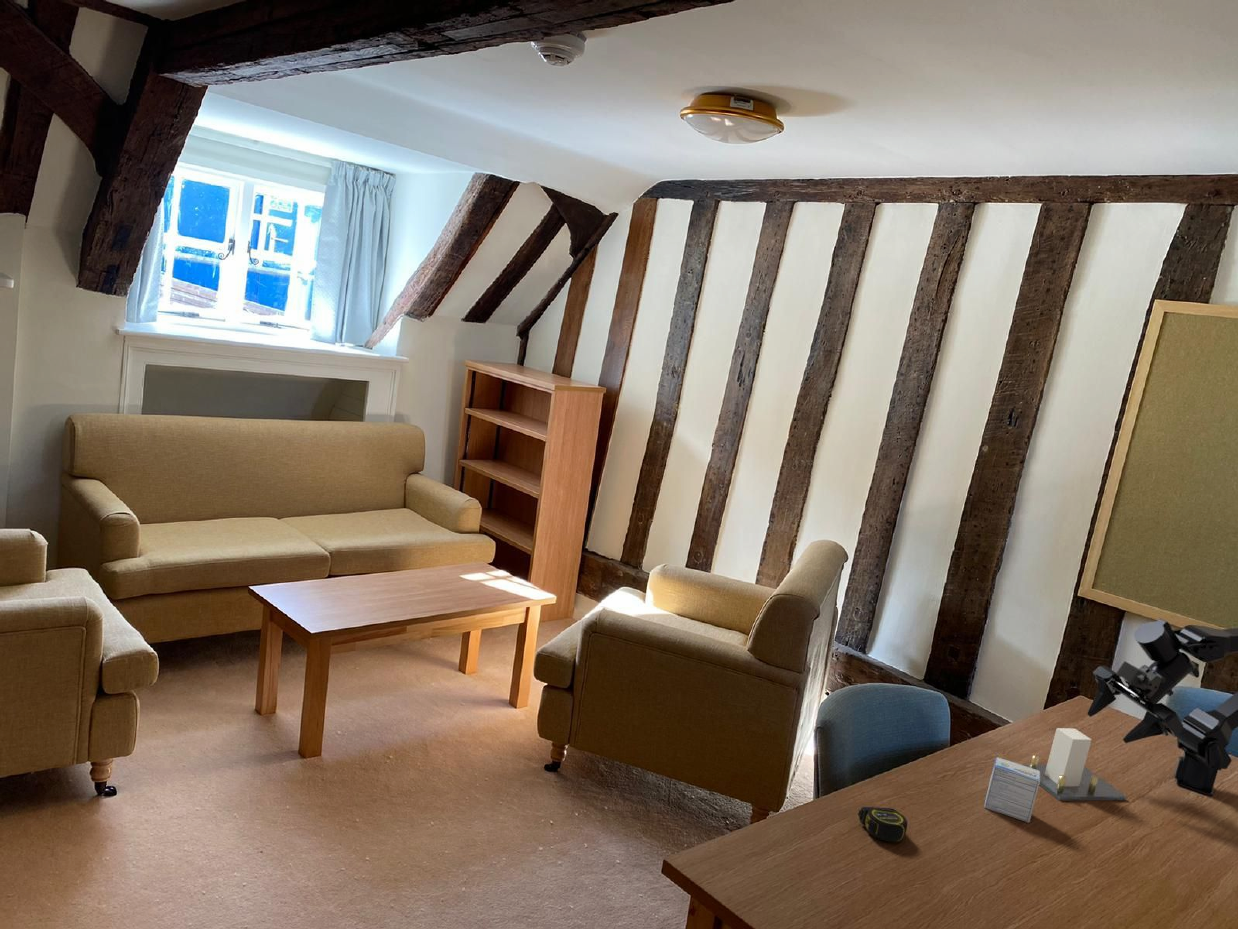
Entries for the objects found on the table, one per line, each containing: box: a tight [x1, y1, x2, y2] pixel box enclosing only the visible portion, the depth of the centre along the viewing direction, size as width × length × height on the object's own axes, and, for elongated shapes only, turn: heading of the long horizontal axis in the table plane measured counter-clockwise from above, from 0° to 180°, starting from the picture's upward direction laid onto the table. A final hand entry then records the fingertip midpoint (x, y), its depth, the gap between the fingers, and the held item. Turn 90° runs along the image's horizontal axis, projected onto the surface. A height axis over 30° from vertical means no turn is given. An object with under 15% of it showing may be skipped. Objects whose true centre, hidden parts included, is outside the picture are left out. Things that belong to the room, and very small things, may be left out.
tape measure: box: [857, 806, 908, 843], centre depth 161 cm, size 7×7×4 cm
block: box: [1045, 727, 1092, 786], centre depth 190 cm, size 4×4×10 cm
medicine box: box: [983, 756, 1040, 823], centre depth 175 cm, size 8×4×9 cm, turn 65°
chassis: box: [1022, 754, 1128, 802], centre depth 191 cm, size 16×12×4 cm
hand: (1106, 728), depth 192 cm, fingers open, 9 cm apart
